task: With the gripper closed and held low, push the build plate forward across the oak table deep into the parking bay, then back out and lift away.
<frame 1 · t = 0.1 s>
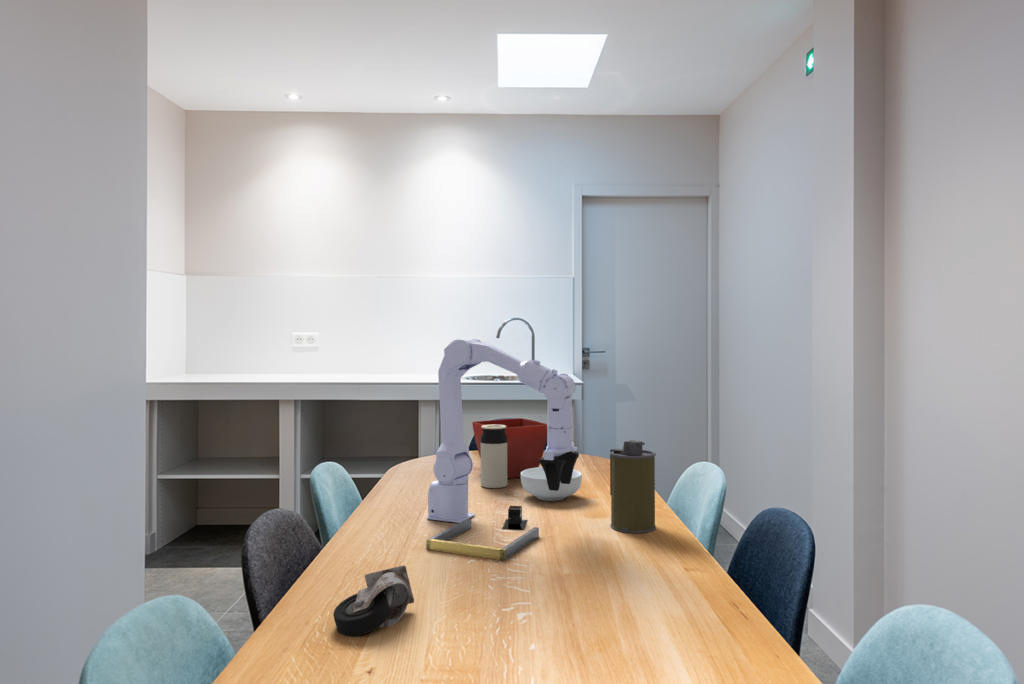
hand: (559, 486, 155), 10 cm above the table, fingers open, 7 cm apart
plant pot: (510, 475, 221), on the table
travel mug: (494, 486, 203), on the table
canister: (632, 527, 158), on the table
parking bay: (486, 541, 147), on the table
caster wheel: (373, 625, 105), on the table
build plate: (515, 527, 161), on the table
cereal bowl: (551, 498, 188), on the table
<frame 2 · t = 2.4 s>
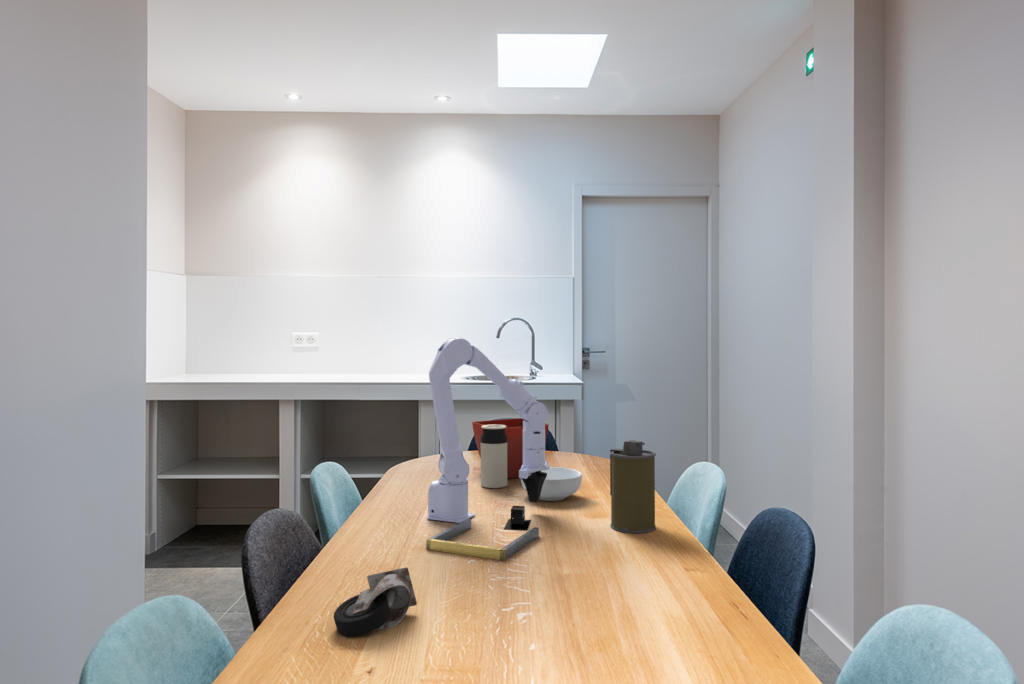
hand: (534, 501, 171), 3 cm above the table, fingers closed
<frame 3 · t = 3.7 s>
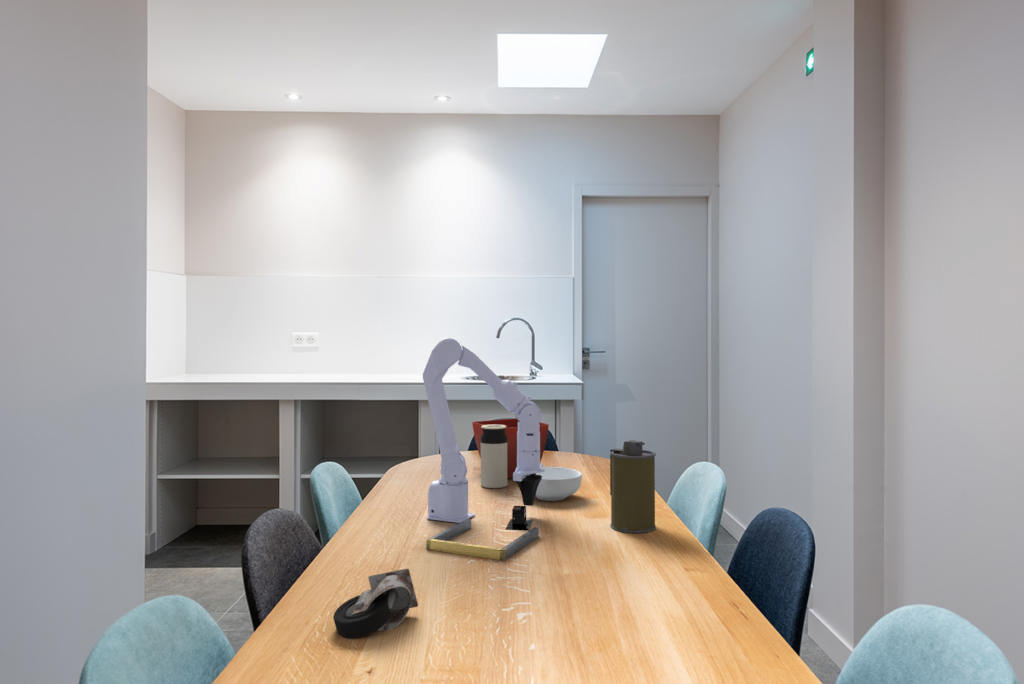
hand: (528, 504, 168), 3 cm above the table, fingers closed
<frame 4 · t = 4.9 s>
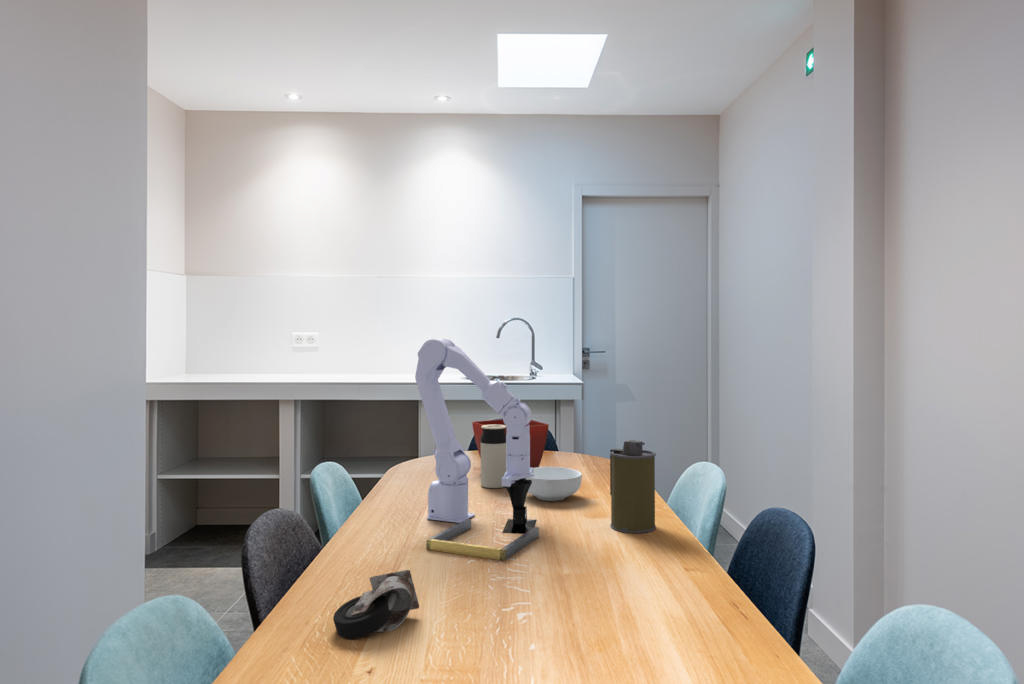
hand: (518, 510, 162), 3 cm above the table, fingers closed
build plate: (520, 528, 159), on the table, touching gripper
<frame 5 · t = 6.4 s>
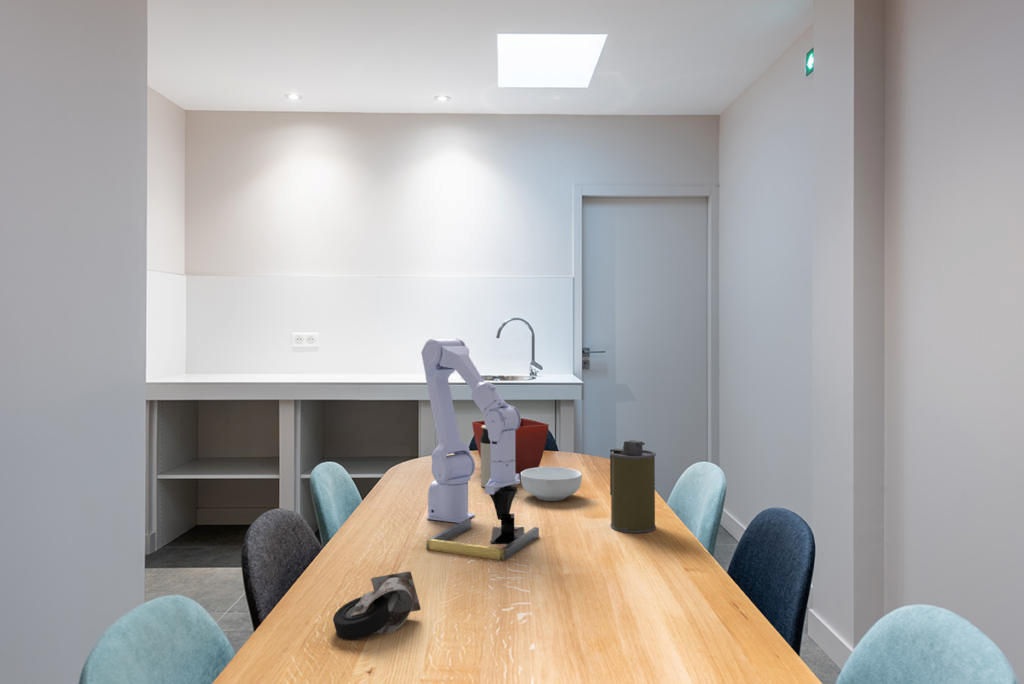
hand: (502, 519, 155), 3 cm above the table, fingers closed
build plate: (507, 536, 151), on the table, touching gripper
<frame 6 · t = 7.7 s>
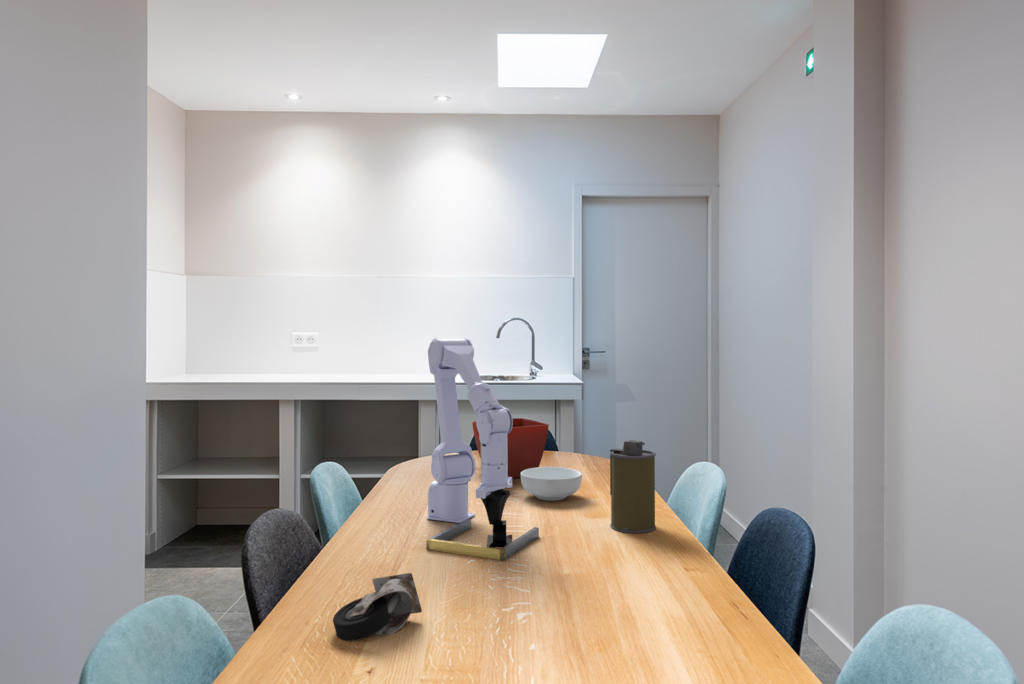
hand: (494, 524, 151), 3 cm above the table, fingers closed
build plate: (499, 544, 147), on the table
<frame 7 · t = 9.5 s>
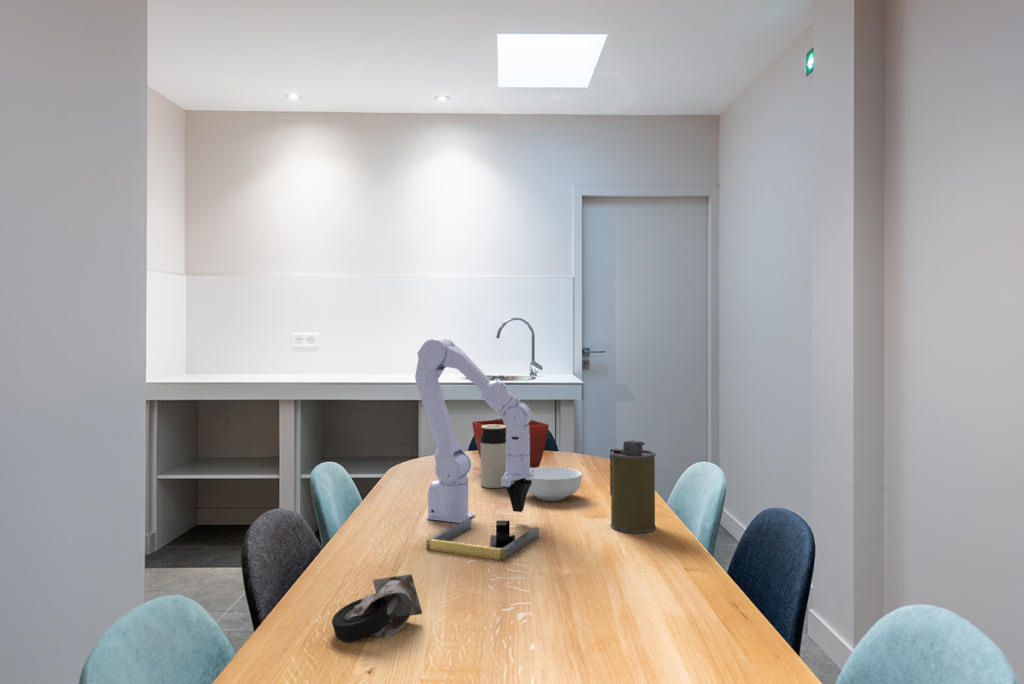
hand: (518, 511, 162), 3 cm above the table, fingers closed
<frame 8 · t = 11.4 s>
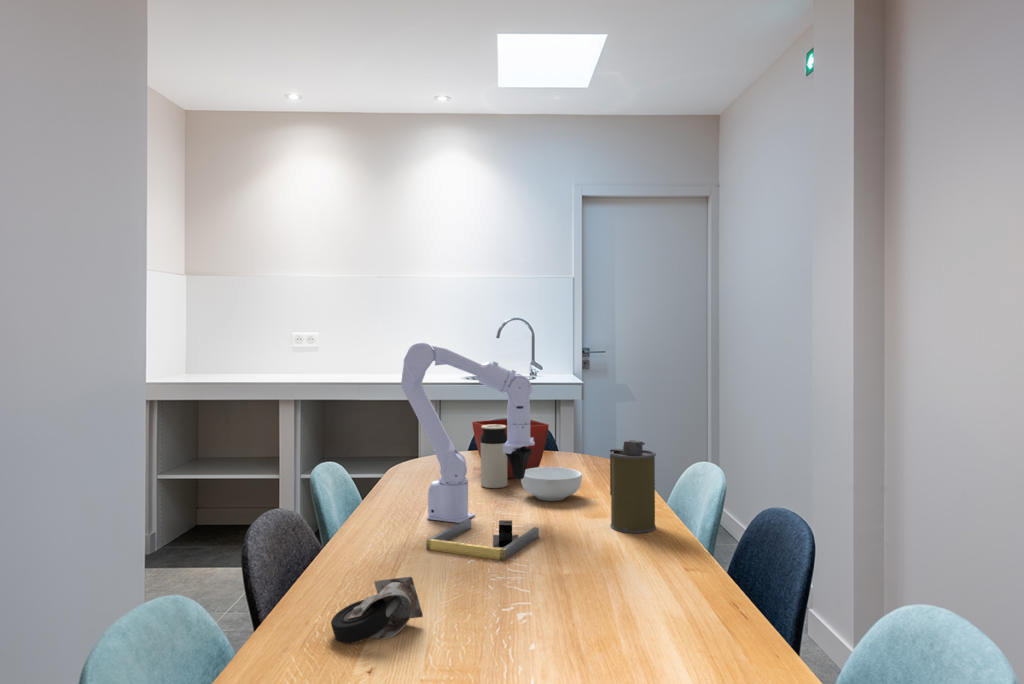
hand: (518, 478, 168), 9 cm above the table, fingers closed
at the end: build plate inside the target area (4.4 cm from its centre), on the table; build plate tilted 1°; build plate moved 13.3 cm from its start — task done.
